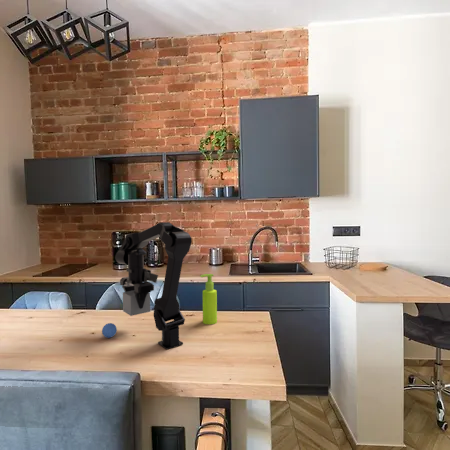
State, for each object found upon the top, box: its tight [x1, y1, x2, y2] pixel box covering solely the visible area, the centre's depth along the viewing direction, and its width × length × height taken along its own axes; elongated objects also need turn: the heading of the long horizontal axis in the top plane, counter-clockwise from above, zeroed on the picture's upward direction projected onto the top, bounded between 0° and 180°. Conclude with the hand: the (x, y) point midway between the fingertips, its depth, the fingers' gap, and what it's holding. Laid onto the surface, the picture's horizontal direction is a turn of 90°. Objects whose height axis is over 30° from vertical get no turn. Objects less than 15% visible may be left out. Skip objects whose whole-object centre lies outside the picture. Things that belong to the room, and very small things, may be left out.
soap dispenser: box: [199, 273, 218, 325], centre depth 126 cm, size 6×7×20 cm
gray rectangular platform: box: [122, 290, 151, 317], centre depth 117 cm, size 8×8×7 cm
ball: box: [101, 322, 118, 338], centre depth 111 cm, size 5×5×5 cm
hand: (136, 306), depth 117 cm, fingers closed on gray rectangular platform, 8 cm apart
